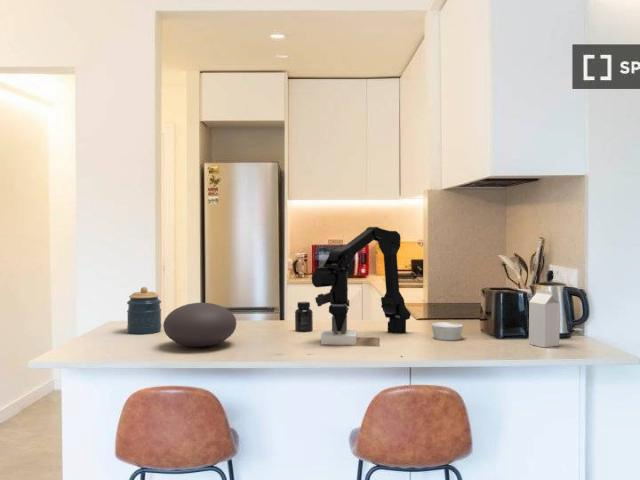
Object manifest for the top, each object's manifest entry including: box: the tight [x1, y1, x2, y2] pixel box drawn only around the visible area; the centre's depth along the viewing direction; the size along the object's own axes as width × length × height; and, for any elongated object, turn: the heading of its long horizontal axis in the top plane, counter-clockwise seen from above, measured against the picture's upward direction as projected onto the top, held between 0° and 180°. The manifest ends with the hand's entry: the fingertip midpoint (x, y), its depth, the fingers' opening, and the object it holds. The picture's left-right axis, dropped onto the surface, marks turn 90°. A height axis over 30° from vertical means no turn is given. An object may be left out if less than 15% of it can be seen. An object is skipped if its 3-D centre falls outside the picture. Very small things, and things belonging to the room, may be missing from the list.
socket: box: [320, 329, 358, 345], centre depth 211 cm, size 12×12×3 cm
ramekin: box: [431, 321, 464, 342], centre depth 222 cm, size 11×11×5 cm
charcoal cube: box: [331, 314, 348, 334], centre depth 211 cm, size 5×5×7 cm
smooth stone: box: [162, 302, 237, 348], centre depth 209 cm, size 25×25×15 cm
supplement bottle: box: [294, 301, 314, 333], centre depth 233 cm, size 7×7×12 cm
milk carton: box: [528, 289, 561, 348], centre depth 209 cm, size 7×7×19 cm
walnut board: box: [319, 336, 381, 348], centre depth 211 cm, size 20×16×1 cm
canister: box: [126, 286, 162, 335], centre depth 236 cm, size 13×13×18 cm
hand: (339, 329), depth 211 cm, fingers closed on charcoal cube, 5 cm apart
